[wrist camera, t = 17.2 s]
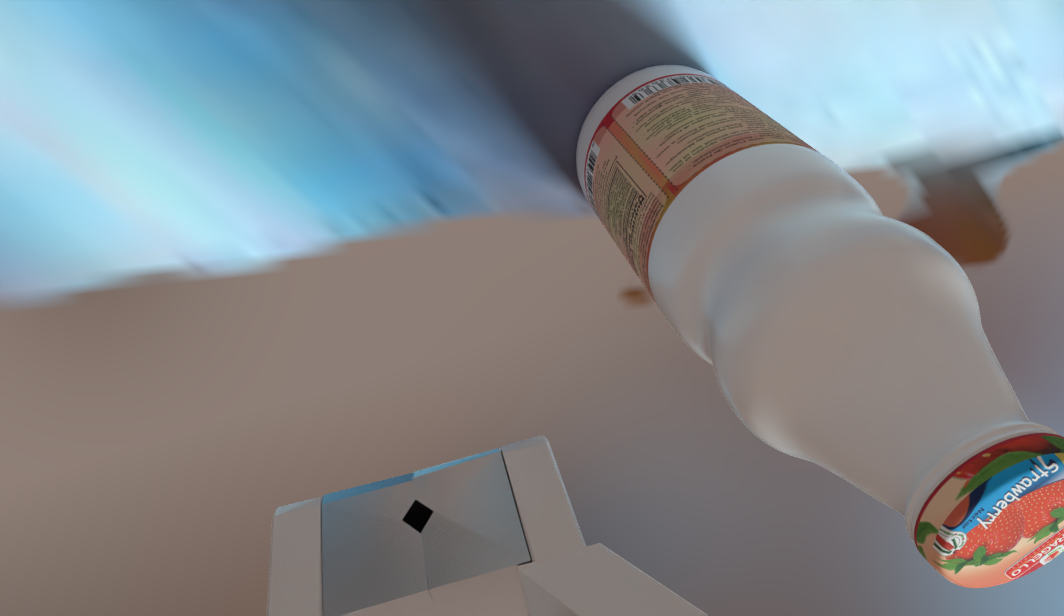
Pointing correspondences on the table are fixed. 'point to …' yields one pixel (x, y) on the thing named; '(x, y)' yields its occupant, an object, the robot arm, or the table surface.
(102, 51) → the table surface
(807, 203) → the fruit juice
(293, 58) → the table surface
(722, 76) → the table surface
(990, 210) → the table surface
